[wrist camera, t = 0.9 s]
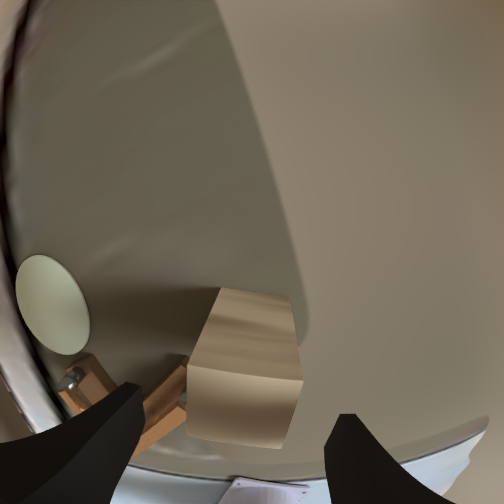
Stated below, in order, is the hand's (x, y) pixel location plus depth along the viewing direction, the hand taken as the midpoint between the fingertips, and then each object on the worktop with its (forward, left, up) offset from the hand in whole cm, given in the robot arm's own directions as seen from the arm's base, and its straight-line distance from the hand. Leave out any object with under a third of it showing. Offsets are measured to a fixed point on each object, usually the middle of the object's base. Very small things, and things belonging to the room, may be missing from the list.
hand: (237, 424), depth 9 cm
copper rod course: (-10, +7, -9) cm, 15 cm away
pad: (-5, +15, -9) cm, 18 cm away
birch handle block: (0, 0, -9) cm, 9 cm away
